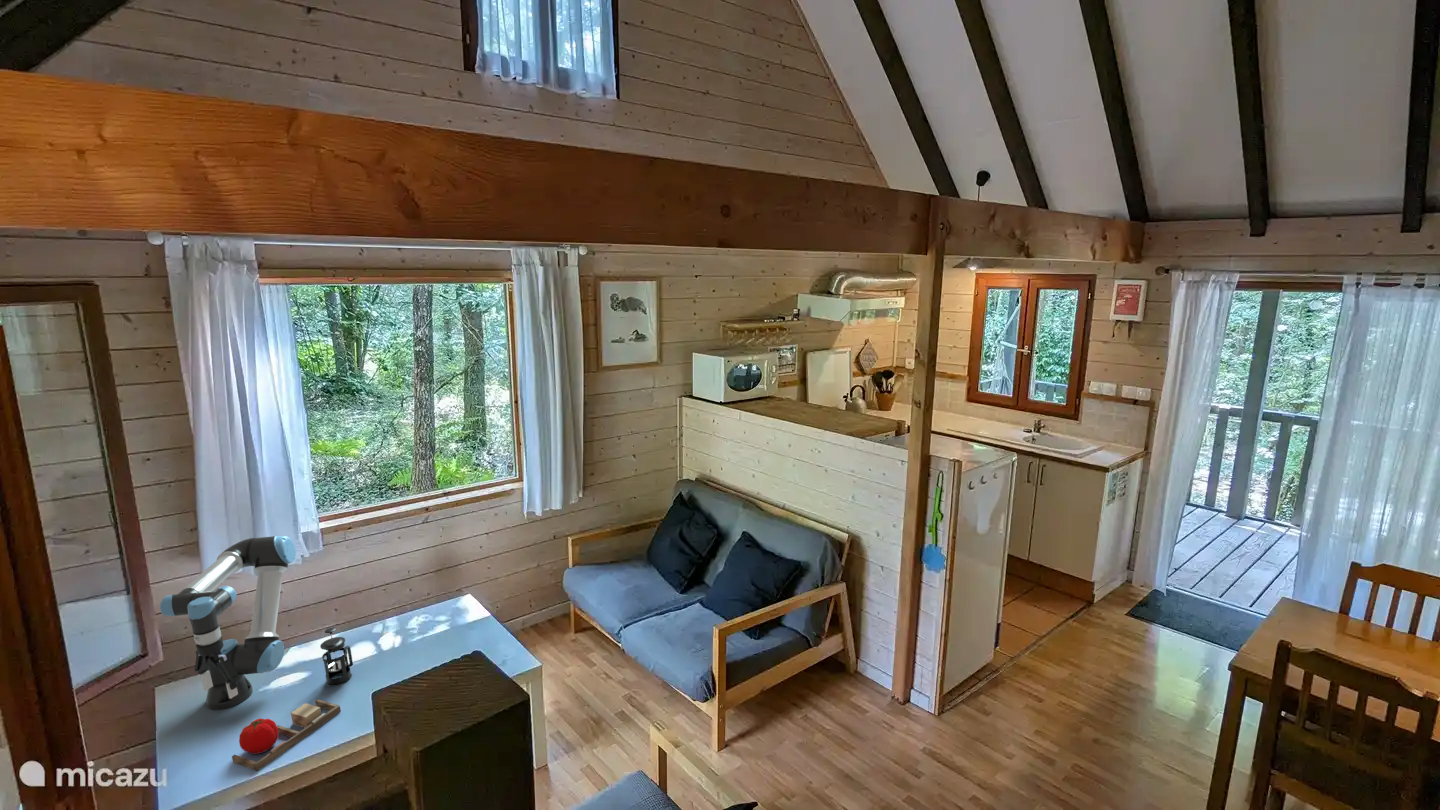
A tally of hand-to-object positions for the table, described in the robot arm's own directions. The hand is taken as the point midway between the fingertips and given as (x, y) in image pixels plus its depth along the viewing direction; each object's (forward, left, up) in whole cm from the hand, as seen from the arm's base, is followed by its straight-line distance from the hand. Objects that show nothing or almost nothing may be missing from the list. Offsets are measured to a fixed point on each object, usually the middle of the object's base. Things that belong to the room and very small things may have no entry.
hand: (221, 692), depth 247 cm
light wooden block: (+20, +16, -19) cm, 31 cm away
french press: (+8, +40, -19) cm, 45 cm away
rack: (+21, +8, -18) cm, 29 cm away
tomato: (+18, -1, -19) cm, 26 cm away
